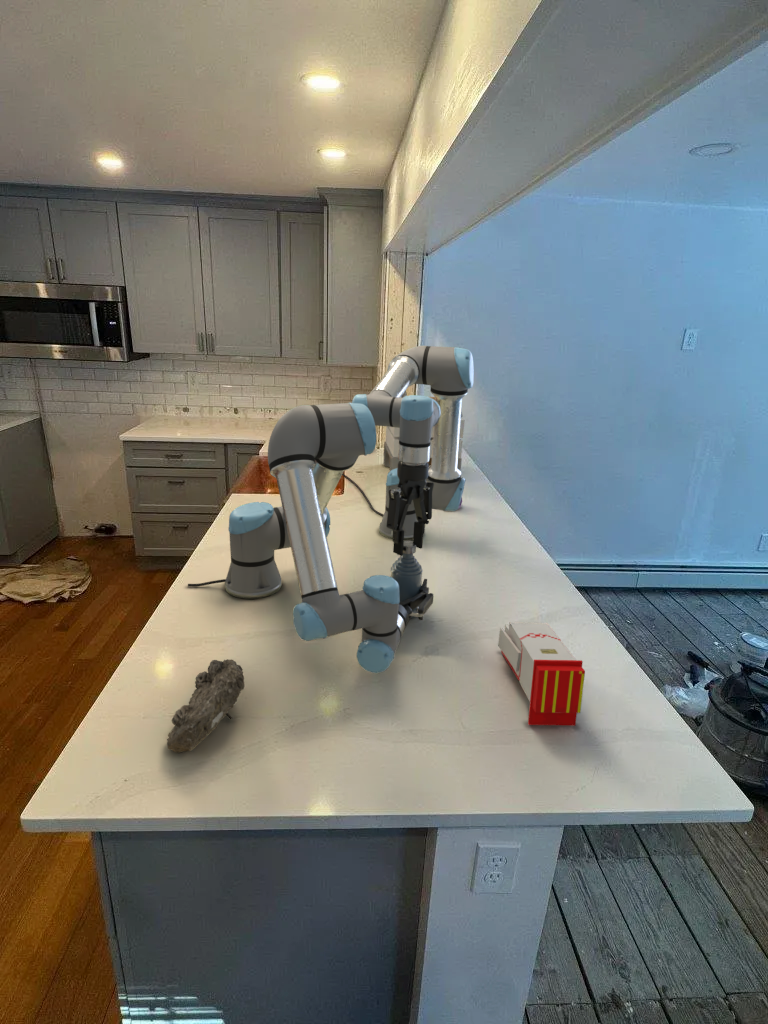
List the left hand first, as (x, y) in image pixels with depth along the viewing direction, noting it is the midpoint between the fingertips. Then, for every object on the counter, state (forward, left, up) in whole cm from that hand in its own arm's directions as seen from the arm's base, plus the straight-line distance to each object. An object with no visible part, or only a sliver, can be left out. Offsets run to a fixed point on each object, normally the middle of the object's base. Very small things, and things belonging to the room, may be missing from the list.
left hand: (409, 581), depth 152 cm
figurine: (+1, +82, -6) cm, 82 cm away
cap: (0, -5, +13) cm, 13 cm away
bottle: (0, -5, -6) cm, 8 cm away
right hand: (0, -5, +11) cm, 12 cm away
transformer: (-20, +128, -6) cm, 129 cm away
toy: (+33, -26, -6) cm, 43 cm away
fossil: (-27, -56, -6) cm, 62 cm away
